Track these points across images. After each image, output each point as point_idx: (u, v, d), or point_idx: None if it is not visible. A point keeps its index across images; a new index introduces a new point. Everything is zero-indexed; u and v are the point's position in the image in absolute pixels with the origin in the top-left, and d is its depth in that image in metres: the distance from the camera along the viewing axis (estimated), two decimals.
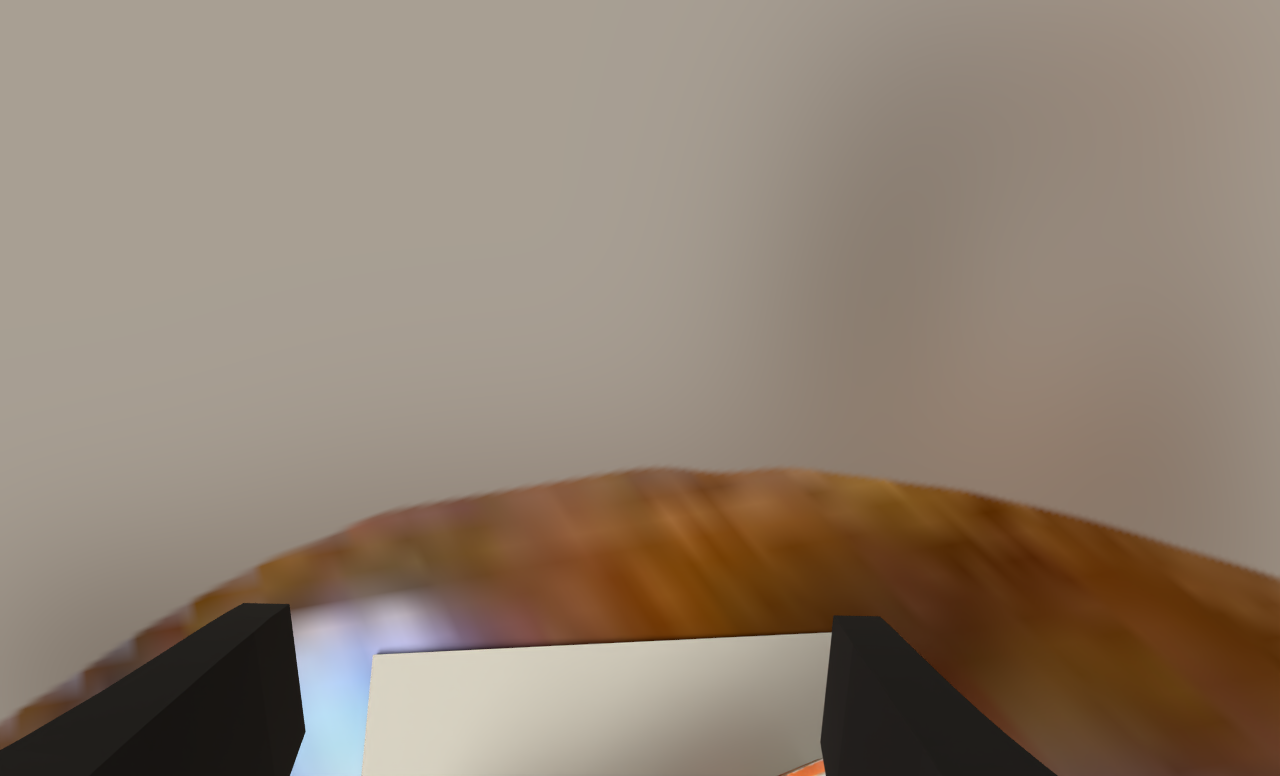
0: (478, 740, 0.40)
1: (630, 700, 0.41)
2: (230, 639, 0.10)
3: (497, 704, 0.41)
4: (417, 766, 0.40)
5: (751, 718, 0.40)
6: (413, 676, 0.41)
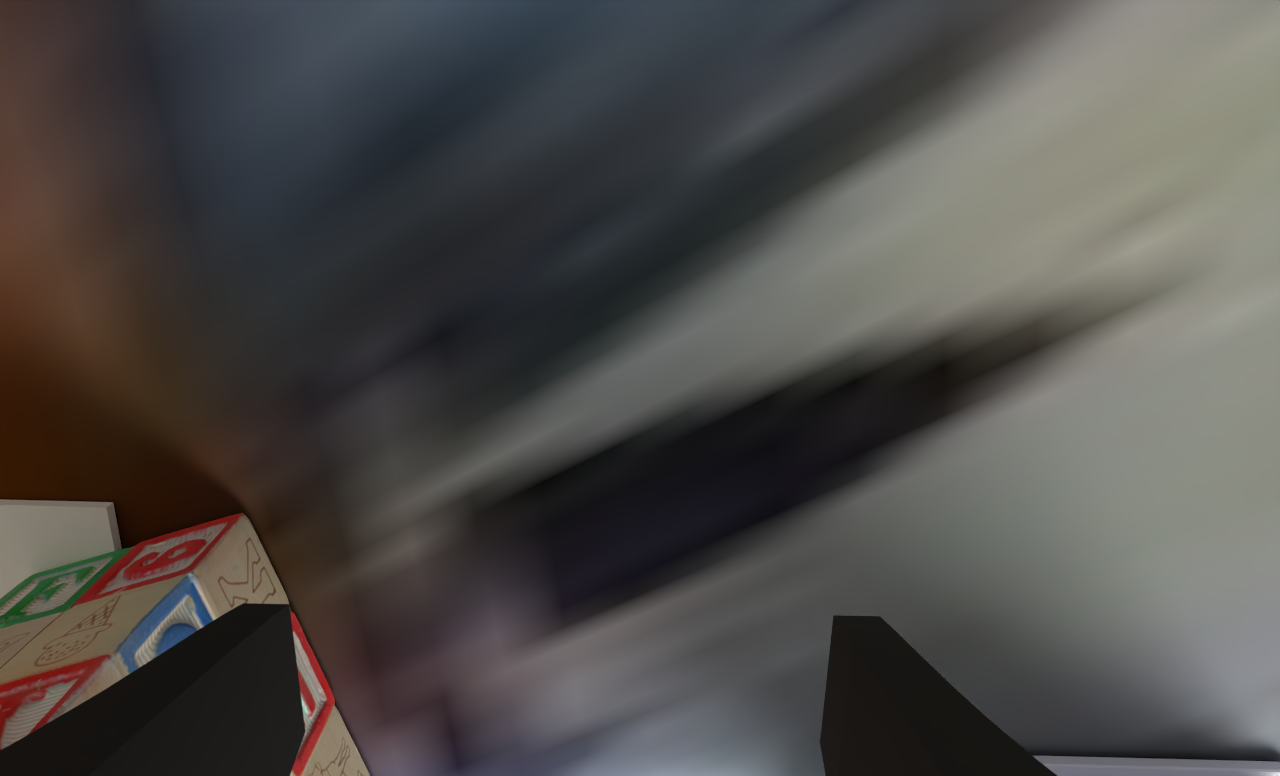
0: None
1: None
2: (231, 639, 0.10)
3: None
4: None
5: None
6: None
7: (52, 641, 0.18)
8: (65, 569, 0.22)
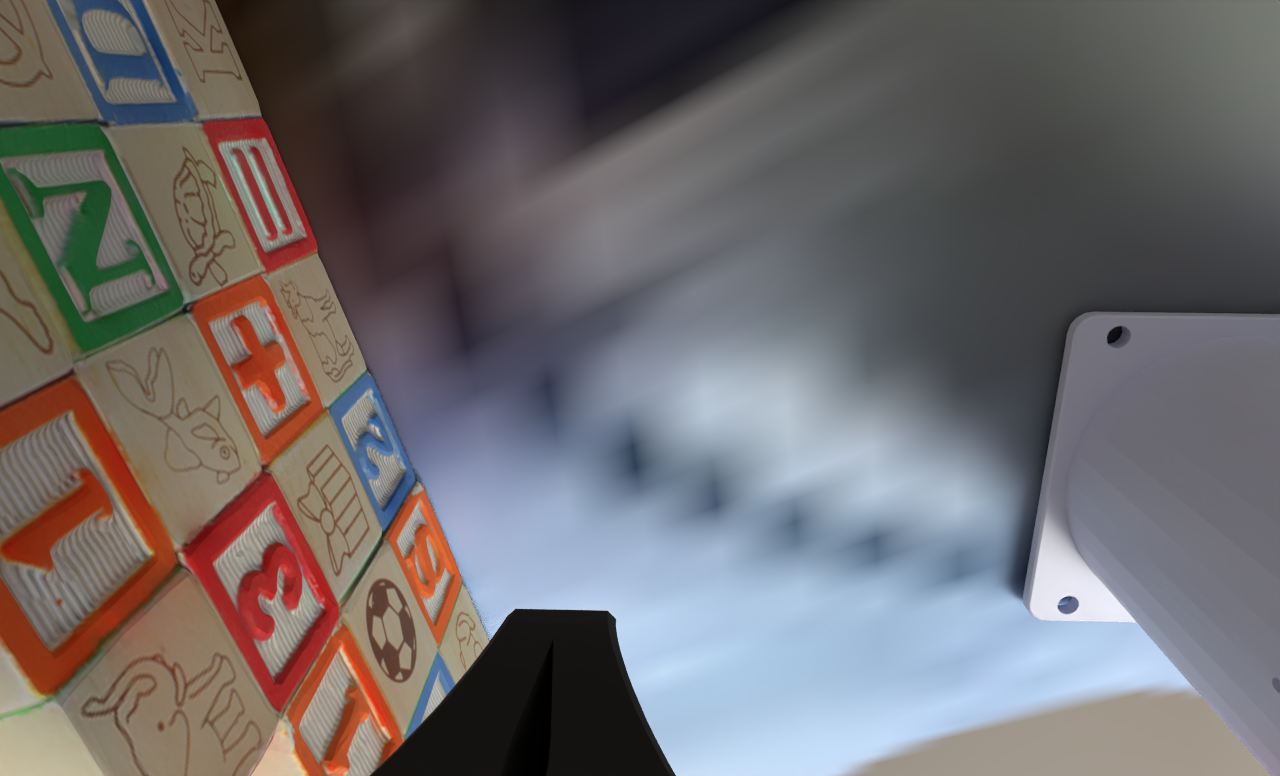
0: None
1: None
2: (533, 645, 0.10)
3: None
4: None
5: None
6: None
7: None
8: None
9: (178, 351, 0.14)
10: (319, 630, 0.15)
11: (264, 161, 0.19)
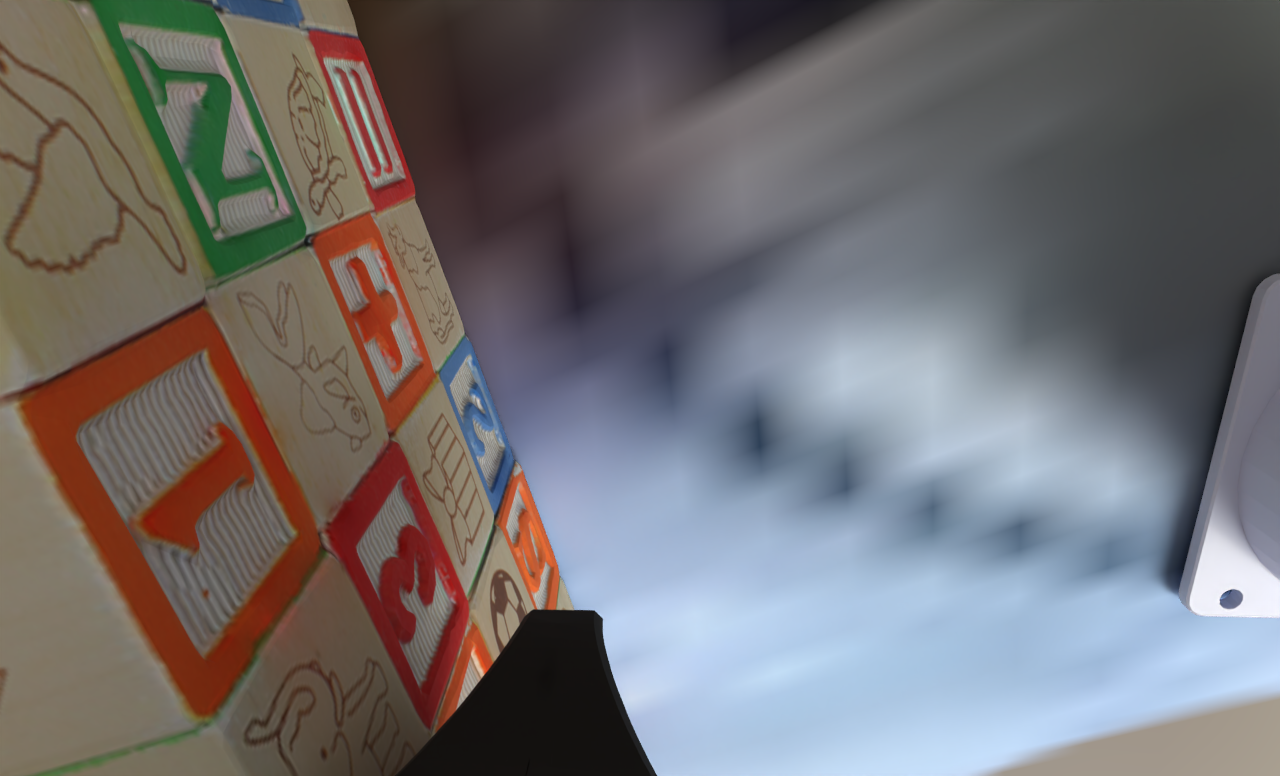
0: None
1: None
2: (553, 645, 0.10)
3: None
4: None
5: None
6: None
7: None
8: None
9: (305, 289, 0.11)
10: (454, 630, 0.13)
11: (363, 87, 0.16)
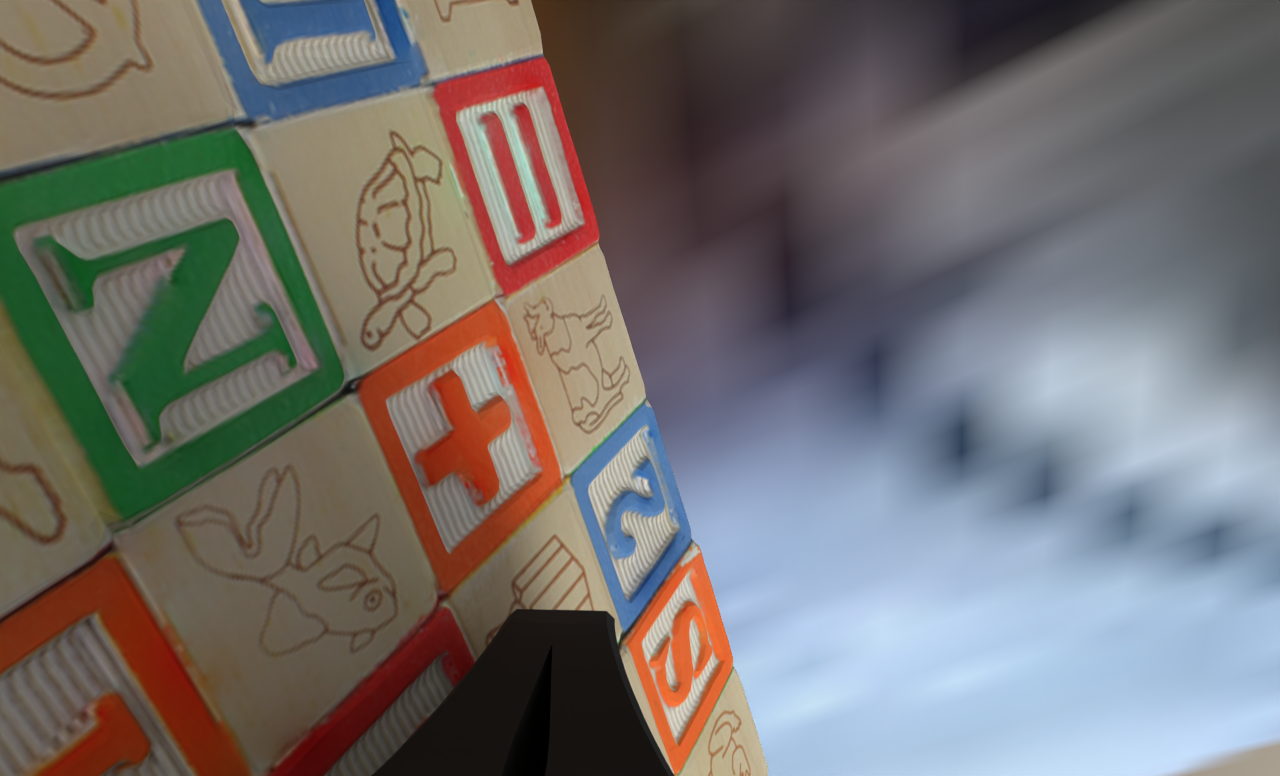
0: None
1: None
2: (535, 645, 0.10)
3: None
4: None
5: None
6: None
7: None
8: None
9: (318, 463, 0.10)
10: None
11: (534, 123, 0.14)
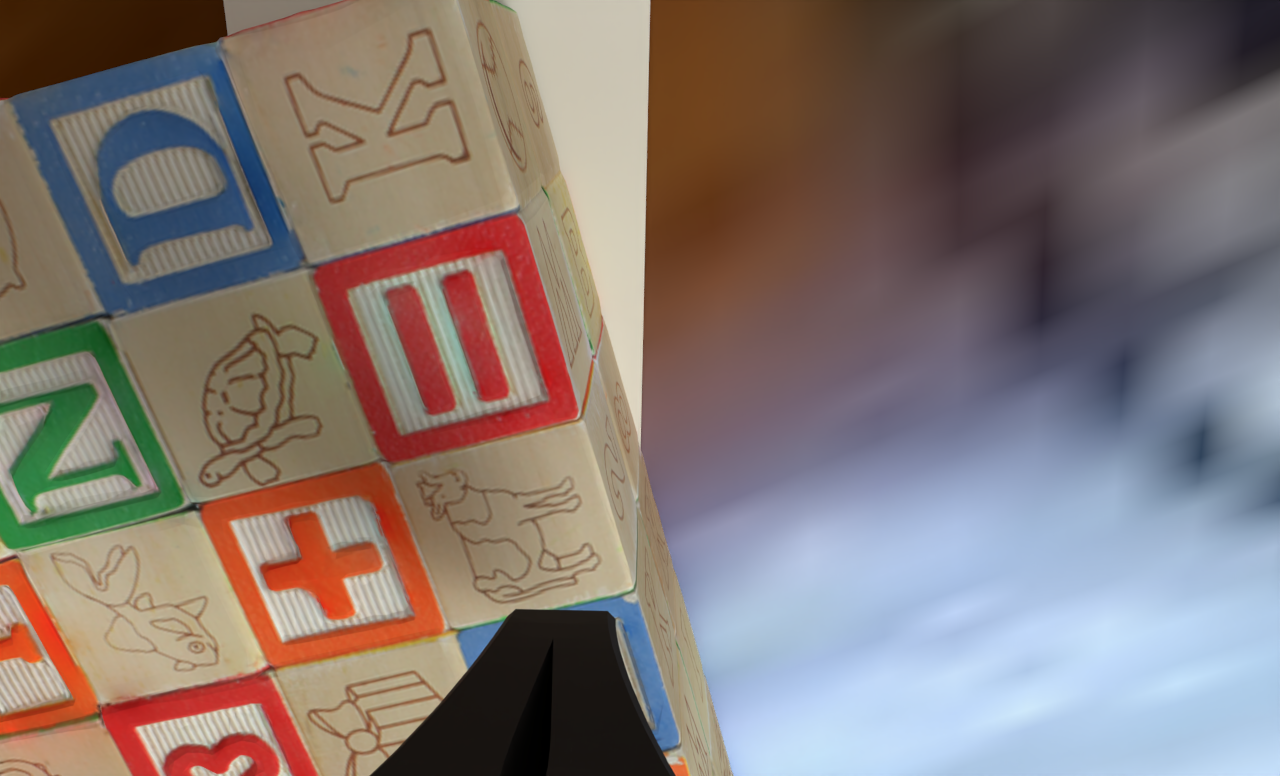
0: None
1: None
2: (534, 645, 0.10)
3: None
4: None
5: None
6: None
7: None
8: None
9: (155, 551, 0.13)
10: None
11: (478, 292, 0.12)
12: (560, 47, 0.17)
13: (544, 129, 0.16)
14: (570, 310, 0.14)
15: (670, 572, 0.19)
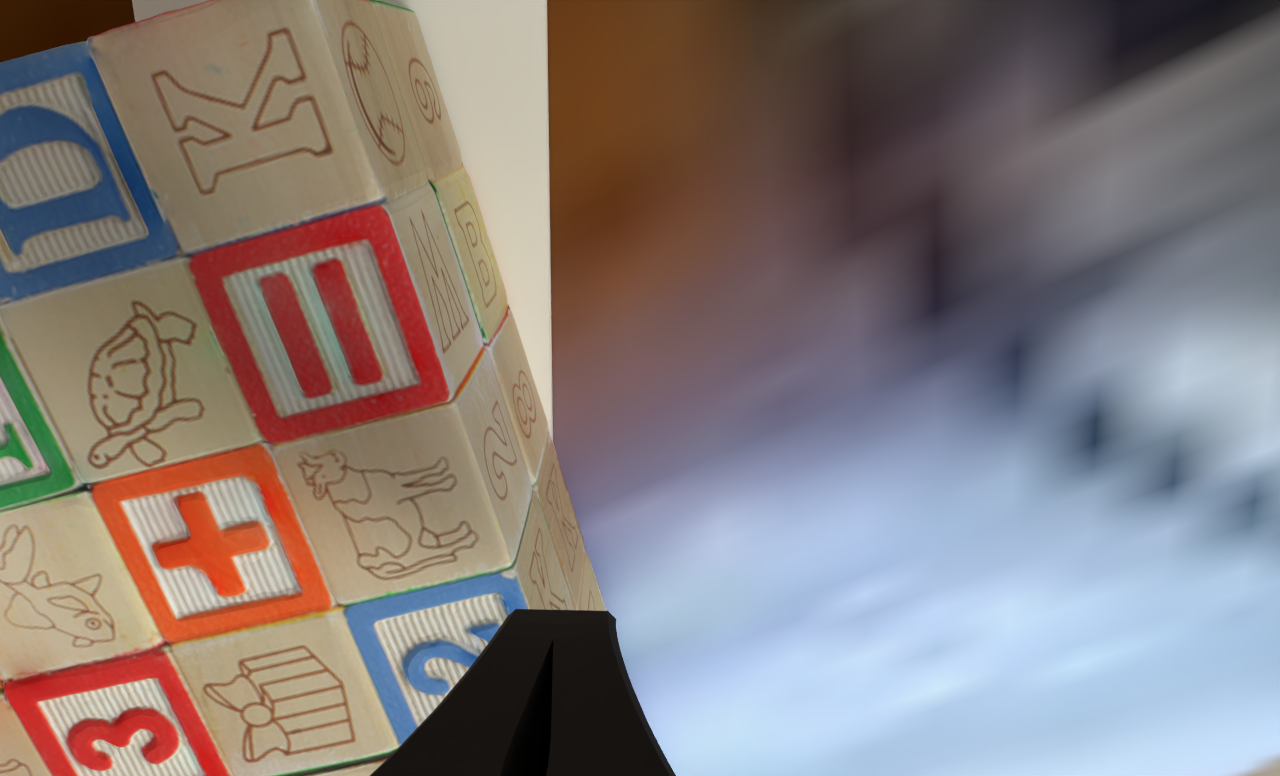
0: None
1: None
2: (534, 645, 0.10)
3: None
4: None
5: None
6: None
7: None
8: None
9: (49, 530, 0.14)
10: None
11: (348, 279, 0.13)
12: (460, 46, 0.17)
13: (441, 125, 0.17)
14: (453, 298, 0.15)
15: (579, 555, 0.20)
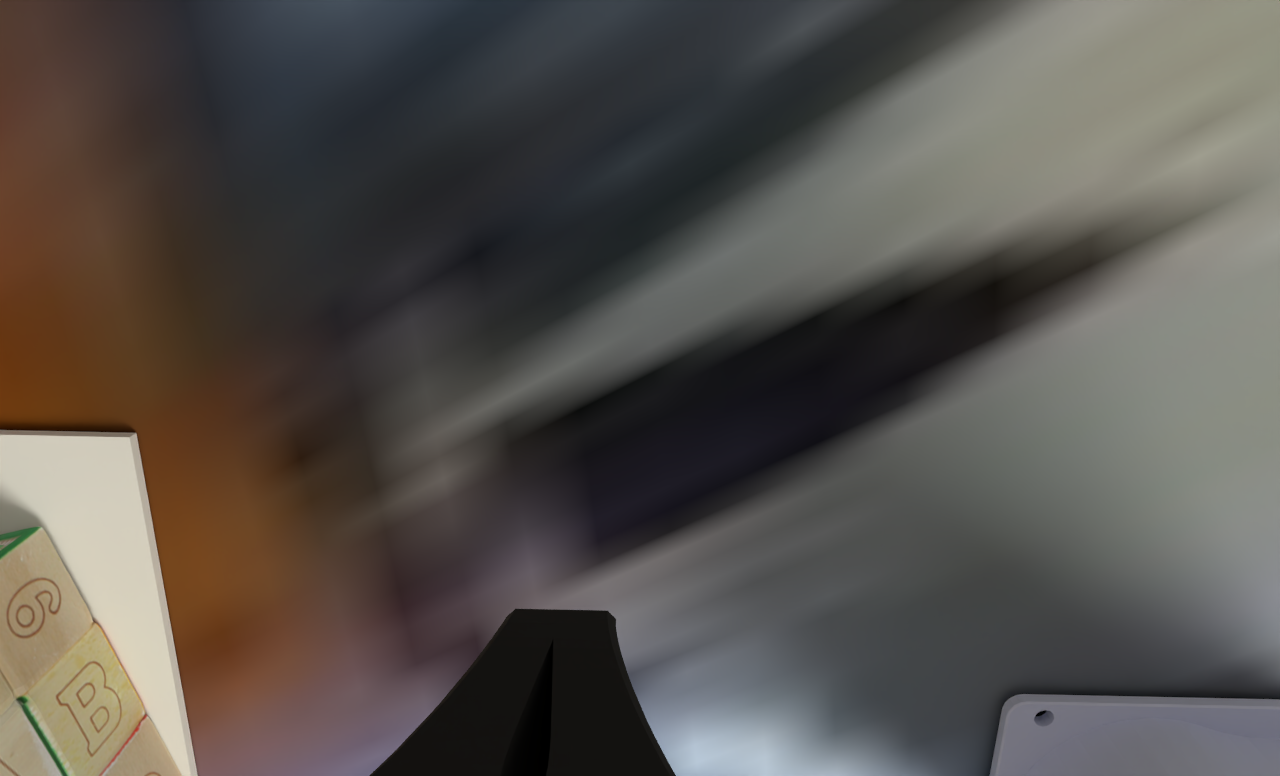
0: None
1: None
2: (534, 645, 0.10)
3: None
4: None
5: None
6: None
7: None
8: None
9: None
10: None
11: None
12: (83, 543, 0.23)
13: (59, 616, 0.22)
14: None
15: None
